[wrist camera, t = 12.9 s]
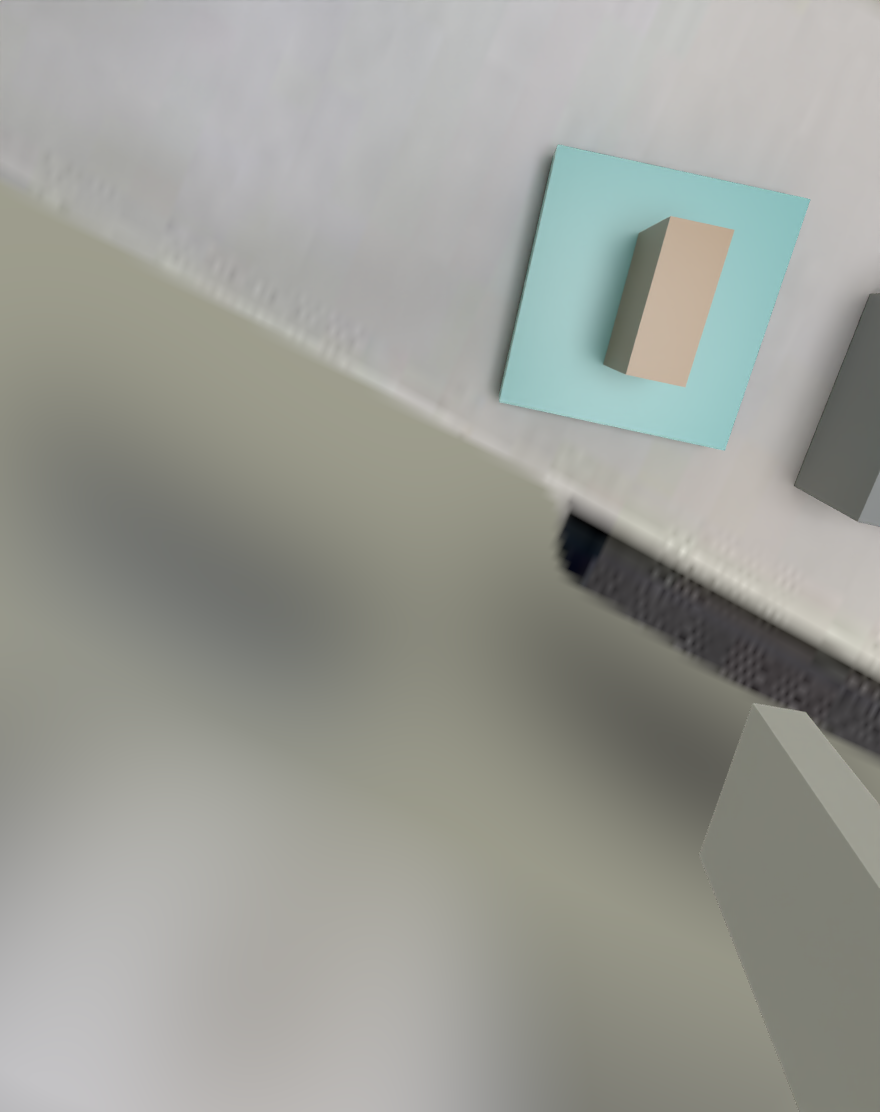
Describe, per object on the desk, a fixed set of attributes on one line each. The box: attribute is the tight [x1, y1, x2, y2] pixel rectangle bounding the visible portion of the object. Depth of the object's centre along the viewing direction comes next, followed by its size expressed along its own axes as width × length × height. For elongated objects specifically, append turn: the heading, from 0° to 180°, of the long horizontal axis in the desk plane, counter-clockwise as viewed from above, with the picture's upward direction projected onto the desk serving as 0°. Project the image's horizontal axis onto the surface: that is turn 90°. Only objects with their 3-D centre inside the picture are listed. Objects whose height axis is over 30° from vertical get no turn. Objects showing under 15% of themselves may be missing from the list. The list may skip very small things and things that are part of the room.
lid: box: [499, 145, 810, 450], centre depth 32 cm, size 12×12×8 cm
